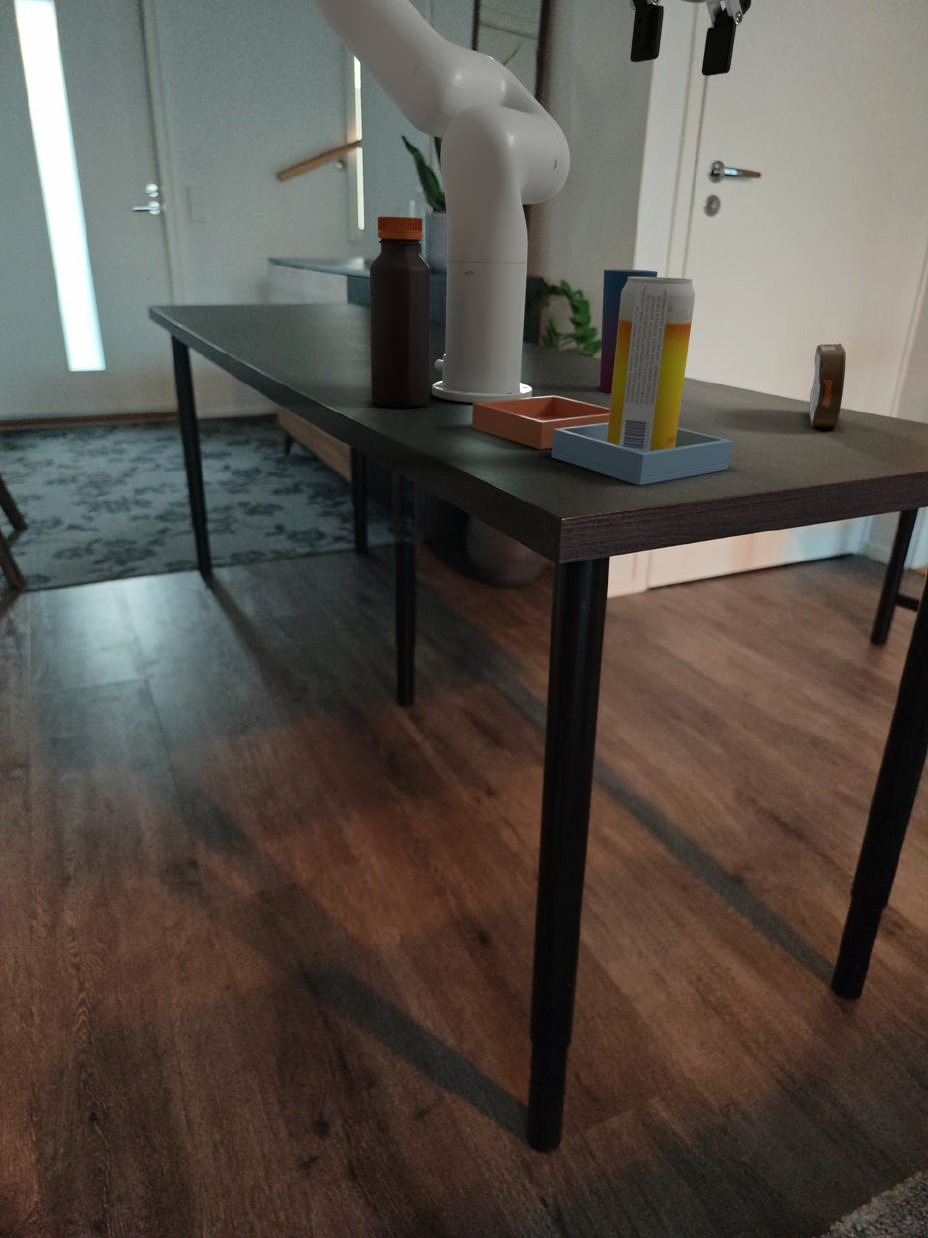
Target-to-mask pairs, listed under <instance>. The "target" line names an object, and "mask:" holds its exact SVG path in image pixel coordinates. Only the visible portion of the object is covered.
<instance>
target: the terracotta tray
mask: <svg viewBox="0 0 928 1238" xmlns="http://www.w3.org/2000/svg"><path fill="white" fill-rule="evenodd" d="M609 412H610V407H605V406H601V405H597V404H593V403H588V402H584V401H580V400H576V399H571V398H567V397H564V396H559V395H555V394H554V395H544V396H543V395H542V396H532V397H531V398H521V399H510V400H500V401H489V402H479V403H472V414H471V416H472V417H471V428H472V429H475V430H477V431H480V432H483V433H487V434H490V435H493V436H495V437H499V438H503V439H505V440H509V441H512V442H514V443H518V444H522V445H524V446H528V447H530V448H534V449H536V450H541V451H542V450H547V449H552V442H553V430H554V429H558V428H566V427H574V426H582V425H591V424H599V423H607V422H609Z"/></svg>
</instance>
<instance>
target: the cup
mask: <svg viewBox="0 0 928 1238" xmlns="http://www.w3.org/2000/svg"><path fill="white" fill-rule="evenodd" d="M658 273H659V272H658V271H657V270H645V269H642V270H641V269H624V268H623V269H622V268H621V269H619V268H615V269H614V268H613V269H612V268H610V269H609V268H607V269H606V268H605V269H603V286H602V287H603V288H602V289H603V290H602V318H601V345H600V346H601V347H600V373H599V374H600V375H599V390H600V391H602V392H606V393H611V392H612V382H613V372H614V362H615V352H616V342H617V332H618V322H619V312H620V302H621V292H622V290H623V288H624V286H625V284H626V283H627V281H628V277H658Z"/></svg>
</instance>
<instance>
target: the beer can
mask: <svg viewBox="0 0 928 1238" xmlns="http://www.w3.org/2000/svg"><path fill="white" fill-rule="evenodd" d="M695 299H696V293H695V289H694V286H693V279H690V278H679V277H660V276H659V277H658V276H657V277H628V281H627V283H626V284H625V286H624V288H623V290H622V292H621V302H620V312H619V322H618V332H617V342H616V352H615V362H614V372H613V382H612V392H610V404H609V408H610V412H609V422H608V432H607V442H608V443H611V444H615V445H618V446H622V447H625V448H629V449H633V450H636V451H640V452H649V451H655V450H662V449H669V448H675V444H676V436H677V429H678V428H679V420H680V414H681V413H680V412H681V406H682V398H683V391H684V383H685V376H686V367H687V361H688V353H689V346H690V339H691V330H692V323H693V315H694V308H695Z"/></svg>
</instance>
